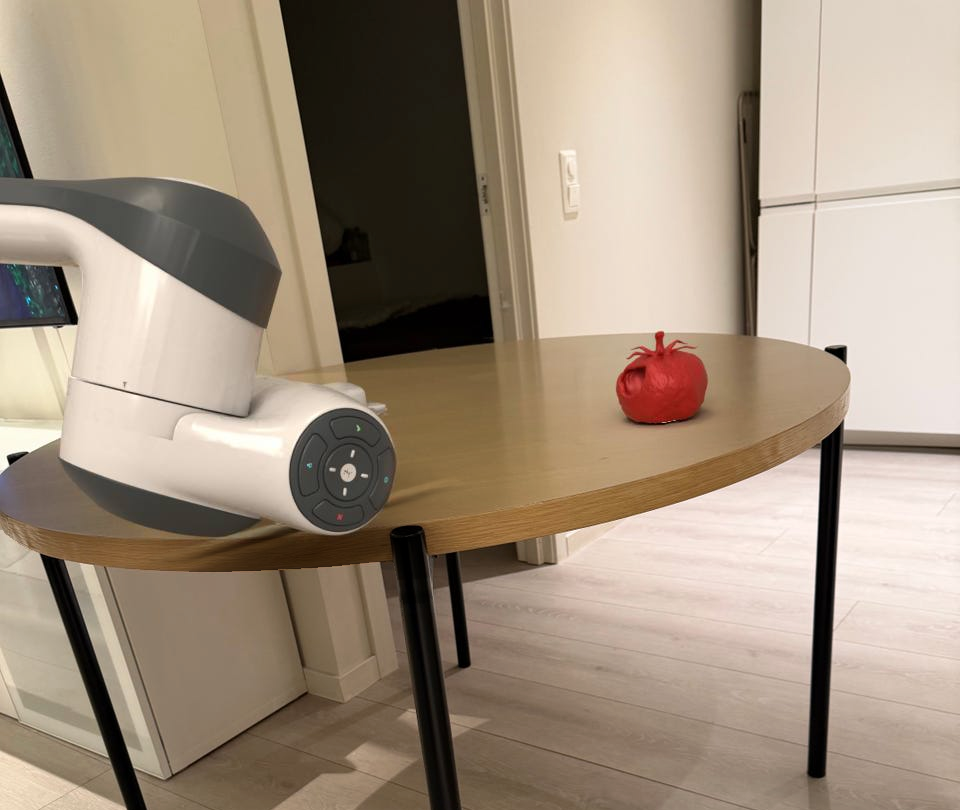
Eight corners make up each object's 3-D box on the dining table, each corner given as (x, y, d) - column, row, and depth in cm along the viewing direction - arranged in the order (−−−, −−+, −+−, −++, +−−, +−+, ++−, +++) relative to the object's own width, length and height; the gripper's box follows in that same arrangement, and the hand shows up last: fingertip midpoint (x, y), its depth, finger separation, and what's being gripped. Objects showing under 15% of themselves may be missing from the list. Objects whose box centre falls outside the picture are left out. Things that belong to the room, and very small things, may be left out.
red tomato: (704, 404, 102) (703, 319, 98) (712, 423, 94) (711, 331, 90) (618, 412, 104) (613, 329, 100) (617, 431, 95) (612, 341, 91)
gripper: (389, 367, 65) (323, 359, 76) (101, 424, 57) (74, 406, 68) (403, 452, 68) (337, 433, 79) (129, 519, 59) (99, 486, 71)
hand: (213, 421), depth 73 cm, fingers closed
